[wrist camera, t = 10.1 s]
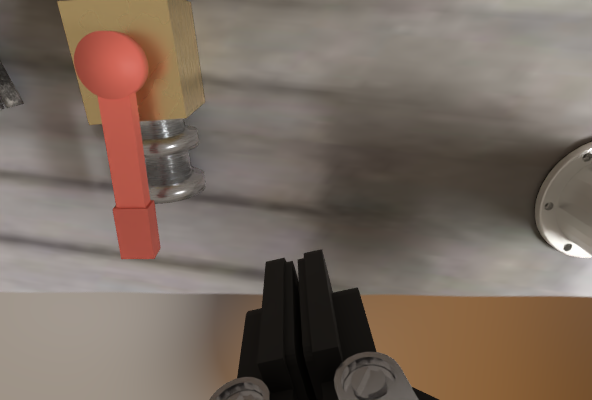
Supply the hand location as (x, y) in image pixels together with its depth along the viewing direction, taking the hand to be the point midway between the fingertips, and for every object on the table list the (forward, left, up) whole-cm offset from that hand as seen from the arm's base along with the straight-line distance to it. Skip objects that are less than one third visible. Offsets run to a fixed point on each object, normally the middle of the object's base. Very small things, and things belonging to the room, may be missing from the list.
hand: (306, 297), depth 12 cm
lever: (+11, 0, -18) cm, 21 cm away
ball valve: (+11, -6, -27) cm, 30 cm away
